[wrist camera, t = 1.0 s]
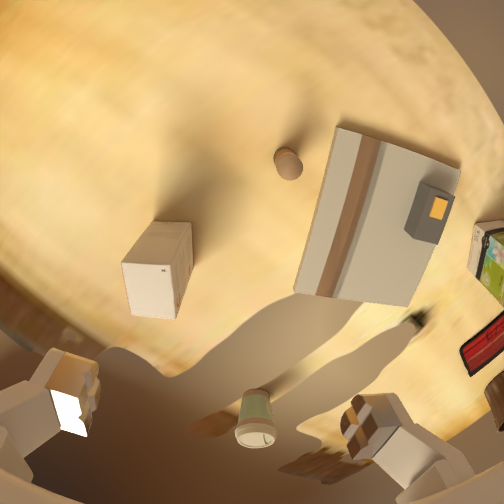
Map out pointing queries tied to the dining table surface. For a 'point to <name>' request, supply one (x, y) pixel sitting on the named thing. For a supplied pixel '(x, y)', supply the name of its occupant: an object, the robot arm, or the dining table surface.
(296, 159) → the peg
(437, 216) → the grey rectangular block
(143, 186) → the dining table surface
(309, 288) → the floor panel
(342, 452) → the dining table surface
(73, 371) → the robot arm
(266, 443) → the coffee cup
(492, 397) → the plant pot
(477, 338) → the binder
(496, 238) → the tea box
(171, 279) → the small box
